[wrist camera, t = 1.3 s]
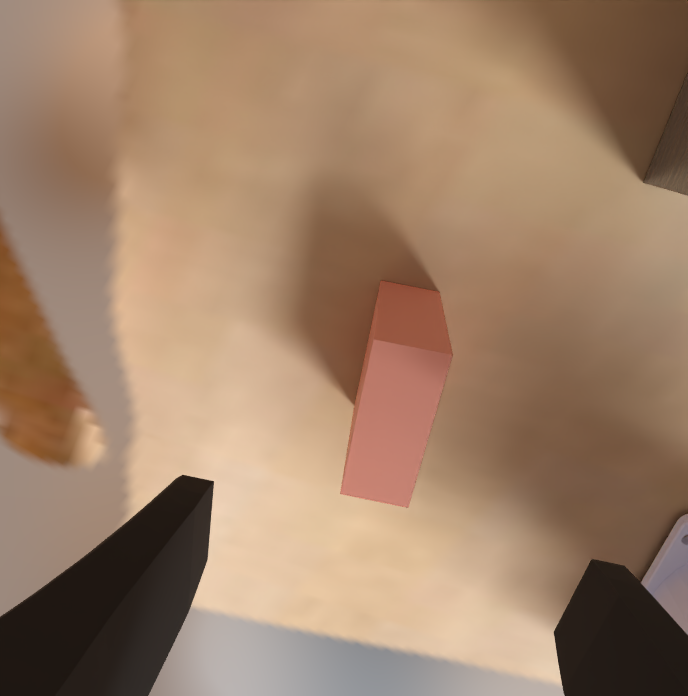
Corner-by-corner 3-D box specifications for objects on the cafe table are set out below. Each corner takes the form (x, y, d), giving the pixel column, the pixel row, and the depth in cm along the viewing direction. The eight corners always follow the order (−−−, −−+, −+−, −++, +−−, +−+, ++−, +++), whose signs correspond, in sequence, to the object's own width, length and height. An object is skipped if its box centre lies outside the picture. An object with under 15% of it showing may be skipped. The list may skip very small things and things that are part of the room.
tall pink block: (406, 415, 20) (408, 507, 15) (354, 405, 20) (340, 493, 15) (439, 291, 17) (452, 355, 13) (380, 280, 17) (373, 339, 13)
